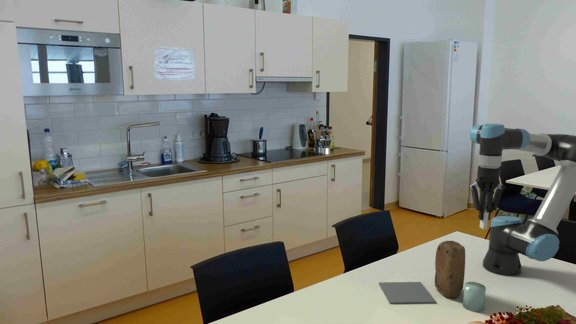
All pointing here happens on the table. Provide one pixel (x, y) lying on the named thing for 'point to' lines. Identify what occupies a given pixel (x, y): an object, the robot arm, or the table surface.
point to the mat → (406, 292)
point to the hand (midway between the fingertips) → (483, 228)
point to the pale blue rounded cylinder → (474, 296)
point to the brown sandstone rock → (450, 268)
